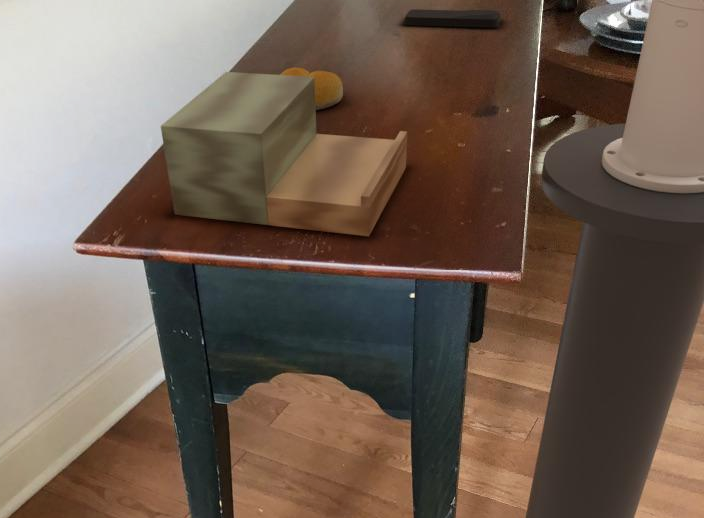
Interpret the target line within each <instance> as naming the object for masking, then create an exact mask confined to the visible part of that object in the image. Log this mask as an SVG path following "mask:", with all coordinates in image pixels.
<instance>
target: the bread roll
mask: <svg viewBox="0 0 704 518" xmlns="http://www.w3.org/2000/svg"><path fill="white" fill-rule="evenodd" d="M280 75H289V76H306V77H314V79H315V108H316V111H320V110H324V109H327V108H330V107H332V106H335V105H336V104H338V103H339V102H340V101H342V99H343V96H344V85H343V82H342V79H341V78H340V77H339V76H338V75H337V74H335V73H334V72H332V71H326V70H315V71H312V72H310V71H309V70H306V69H305V68H303V67H296V66H295V67H291V68H287V69H285V70H284V71H282V72H281V73H280Z"/></svg>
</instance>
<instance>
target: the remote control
mask: <svg viewBox="0 0 704 518" xmlns="http://www.w3.org/2000/svg"><path fill="white" fill-rule="evenodd" d="M403 24H404V25H405V26H419V27H420V26H423V27H424V26H425V27H450V28H451V27H453V28H454V27H455V28H488V29H489V28H490V29H493V28H499V26H500V24H501V13H500V11H497V10H495V9H494V10H493V9H467V10H454V9H453V10H451V9H410V10H409V11H408V12H407V13H406V14H405V18H404V22H403Z"/></svg>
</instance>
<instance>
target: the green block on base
mask: <svg viewBox="0 0 704 518" xmlns="http://www.w3.org/2000/svg"><path fill="white" fill-rule="evenodd" d="M316 111H317V110H316V108H315V79H314V77H306V76H289V75H281V74H270V73H269V74H268V73H255V72H254V73H252V72H235V71H225V72H224V73H222V75H221V76H218V78H217V79H215V80H214V81H213V82H212V83H210V85H208V86H207V87H206V88H205V89H203V90H202V91H201V92H200V93H198V95H196V96H195V97H193V98H192V99H191V100H190V101H188V102H187V103H186V104H185V105H184V106H183V107H181V108H180V109H179V110H178V111H176V113H174V114H173V115H172V116H170V118H168V119H167V120H166V121H165V122H163V123H162V124H161V125H160V131H161V138H162V144H163V150H164V156H165V163H166V168H167V174H168V181H169V182H168V183H169V187H170V194H171V200H172V206H173V212H174V215H175V216H184V217H190V218H199V219H210V220H219V221H226V222H227V221H228V222H237V223H245V224H254V225H262V226H272V227H278V228H279V227H280V228H290V229H298V230H307V231H316V232H325V233H333V234H342V235H351V236H352V235H353V236H360V237H370V235H371V234H372V232H373V229H374V228H375V226H376V224H377V222H378V220H379V219H380V216H381V215H382V213H383V211H384V209H385V207H386V205H387V204H388V202H389V200H390V198H391V196H392V195H393V192H394V191H395V189H396V187H397V185H398V184H399V181H400V180H401V178H402V176H403V174H404V172H405V170H406V168H407V152H408V151H407V149H408V131H406V130H405V131H404V130H399V132H398V133H397V135H396V137H395V138H394V139H388V138H378V137H377V138H376V137H364V136H362V137H361V136H352V135H351V136H350V135H336V134H326V133H325V134H323V133H317V112H316Z"/></svg>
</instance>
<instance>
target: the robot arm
mask: <svg viewBox="0 0 704 518" xmlns="http://www.w3.org/2000/svg"><path fill="white" fill-rule="evenodd" d="M650 4H651V5H650V8H649V12H648V18H647V23H646V27H645V32H644V35H643V36H644V37H643V40H642V46H641V51H640V55H639V58H638V63H637V64H638V65H637V69H636V73H635V78H634V82H633V88H632V92H631V97H630V101H629V102H630V103H629V107H628V111H627V116H626V121H625V123H626V125H625V129H624V134H623V138H620V139H617V140H615V141H613V142H611V143H610V144H609V145H607V146H606V147H605V149H604V151H603V156H602V165H603V167H604V169H605V170H606V171H607V172H608V173H609V174H610V175H611V176H613V177H614V178H616V179H618V180H620V181H622V182H624V183H627V184H629V185H632V186H635V187H639V188H642V189H646V190H651V191H656V192H664V193H677V194H692V193H703V192H704V0H651V3H650Z"/></svg>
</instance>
